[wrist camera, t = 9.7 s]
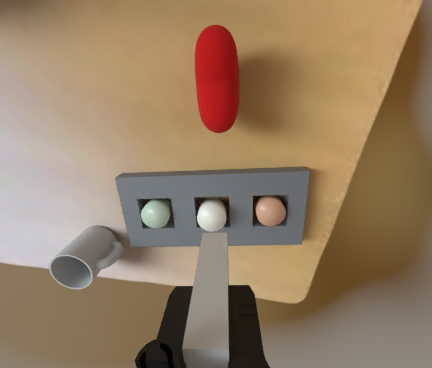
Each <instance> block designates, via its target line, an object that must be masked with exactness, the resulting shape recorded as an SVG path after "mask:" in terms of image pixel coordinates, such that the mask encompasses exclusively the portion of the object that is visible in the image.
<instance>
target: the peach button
mask: <svg viewBox="0 0 432 368" xmlns="http://www.w3.org/2000/svg"><path fill="white" fill-rule="evenodd" d="M255 211H256V215H257V218H258V220H259V221H260V222H261V223H262V224H263V225H266V226H275V225H278V224H279V223H281V222H282V221H283V220H284V218H285V215H286V210H285V208H284V206H283V204H282V202H281V201H280V199H279V198H278V197H277V196H276V195H262V196H260V197H259V198H258V199H257V200H256V202H255Z"/></svg>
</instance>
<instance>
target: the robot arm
mask: <svg viewBox="0 0 432 368" xmlns="http://www.w3.org/2000/svg"><path fill="white" fill-rule="evenodd" d="M135 363H136V366H137V368H270V367H269V365H268V363H267V361H266V359H265V356H264V352H263V346H262V340H261V333H260V327H259V320H258V314H257V308H256V301H255V294H254V293H253V291H252V289H251V288H250V286H249V285H229V273H228V244H227V233H203V234H202V239H201V245H200V251H199V256H198V262H197V268H196V273H195V279H194V285H193V286H176V287H175V289H174V290H173V291H172V293H171V294H170V295H169V298H168V302H167V305H166V309H165V312H164V317H163V319H162V322H161V326H160V329H159V333H158V336H157V339H156V340H153V341H151V342H149V343H148V344H146V345H145V346H144V347H143V348H142V349H141V350H140V352H139V353H138V355H137V357H136V359H135Z"/></svg>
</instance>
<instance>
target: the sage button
mask: <svg viewBox="0 0 432 368" xmlns="http://www.w3.org/2000/svg"><path fill="white" fill-rule="evenodd" d="M171 214H172V205H171V203H170V202H169V201H168V200H167V199H165V198H158V199H151V200H150V201H149V202H148V203H147V204H146V206H145V207H144V208H143V209H142V212H141V218H142V220H143V222H144V223H145V224H146V225H147V226H149V227H151V228H162V227H164V226H165V225H166V224H167V222H168V220H169V218H170V216H171Z"/></svg>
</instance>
